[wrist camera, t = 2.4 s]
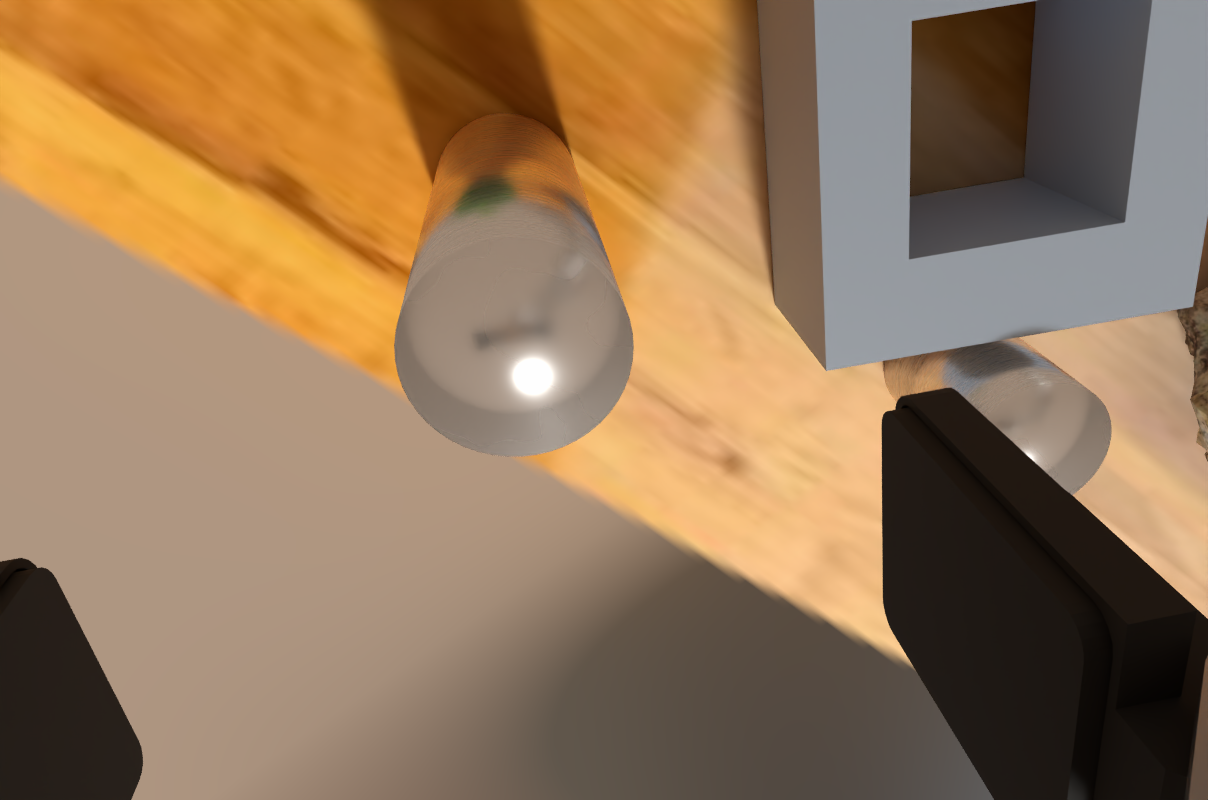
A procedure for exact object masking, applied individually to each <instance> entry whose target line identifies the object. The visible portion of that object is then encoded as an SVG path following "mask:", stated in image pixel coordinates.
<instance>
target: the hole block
mask: <svg viewBox="0 0 1208 800" xmlns="http://www.w3.org/2000/svg"><path fill="white" fill-rule="evenodd" d="M1031 1H1036V7H1035V22H1034V36H1033V50H1032V65H1031V79H1030V94H1029V108H1028V123H1027V137H1026V152H1025V166H1024V177H1023V178H1017V179H1011V180H1005V181H999V182H994V183H988V184H982V185H976V186H970V187H964V188H958V189H952V190H946V191H940V192H935V193H929V194H923V195H917V196H911V197H910V130H911V47H912V21H915V20H921V19H927V18H933V17H939V16H946V15H952V14H958V13H964V12H970V11H976V10H982V9H988V8H994V7H1001V6H1007V5H1013V4H1019V3H1025V2H1031ZM757 9H758V26H759V43H760V60H761V77H762V94H763V111H764V128H765V145H766V162H767V178H768V195H769V212H770V229H771V246H772V263H773V280H774V297H775V305H776V306H777V308H778V309H779V310H780V311H781V313H782V314H783V315H784V317H785V318H786V319H787V321H788V322H789V323H790V324H791V326H792V327H793V328H794V330H795V331H796V332H797V333H798V335H799V336H800V337H801V339H802V340H803V341H804V343H805V344H806V345H807V346H808V348H809V349H810V350H811V352H812V353H813V354H814V356H815V357H816V358H817V359H818V361H819V362H820V363H821V365H822V366H823V367H824V368H825V370H826V371H828V370H834V369H840V368H845V367H851V366H857V365H862V364H868V363H874V362H880V361H885V360H891V359H897V358H903V357H908V356H914V355H920V354H925V353H931V352H937V351H943V350H948V349H954V348H960V347H965V346H971V345H977V344H983V343H988V342H994V341H1000V340H1005V339H1011V338H1017V337H1023V336H1028V335H1034V334H1040V333H1046V332H1051V331H1057V330H1063V329H1068V328H1074V327H1080V326H1086V325H1091V324H1097V323H1103V322H1108V321H1114V320H1120V319H1126V318H1131V317H1137V316H1143V315H1149V314H1154V313H1160V312H1166V311H1171V310H1177V309H1183V308H1189V307H1193V303H1194V297H1195V291H1196V285H1197V279H1198V273H1199V267H1200V261H1201V255H1202V248H1203V242H1204V236H1205V230H1206V224H1207V218H1208V0H757Z"/></svg>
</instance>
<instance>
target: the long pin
mask: <svg viewBox="0 0 1208 800" xmlns="http://www.w3.org/2000/svg"><path fill="white" fill-rule="evenodd" d="M394 347H395V362H396V367H397V372H398V376H399V378H400V381H401V384H402V387H403V389H404V391H405V393H406V395H407V397H408V399H409V401H410V402H411V404H412V405H413V406H414V408H415V409H416V411H417V412H418V413H419V414H420V415H421V417H423V419H424V420H425V421H426V422H427V423H428V424H430V426H432V427H433V428H434V429H435V430H437V431H438V432H439V433H440V434H442V435H444V436H445V437H446V438H448V439H450V440H452V441H453V442H455V443H457V444H460V445H461V446H464V447H466V448H469V449H472V450H475V451H477V452H482V453H486V454H490V455H498V456H507V457H510V456H530V455H537V454H541V453H546V452H550V451H553V450H556V449H558V448H561V447H564V446H566V445H568V444H570V443H572V442H574V441H576V440H578V439H579V438H581V437H582V436H584V435H586V434H587V433H589V432H590V431H591V430H592V429H593V428H595V427H596V426H597V425H598V424H599V423H600V422H601V421H602V420H603V419H604V418H605V417H606V416H607V415H608V414H609V413H610V411H611V410H612V409H613V407H614V406H615V404H616V403H617V402H618V400H619V398H620V396H621V394H622V392H623V390H624V389H625V386H626V383H627V380H628V378H629V375H630V370H631V366H632V361H633V333H632V328H631V323H630V319H629V316H628V313H627V310H626V308H625V305H624V302H623V299H622V296H621V294H620V291H619V288H618V285H617V283H616V280H615V277H614V274H613V271H612V269H611V266H610V263H609V260H608V257H607V255H606V252H605V249H604V246H603V243H602V241H601V238H600V235H599V232H598V229H597V227H596V224H595V221H594V218H593V215H592V213H591V210H590V207H589V204H588V201H587V199H586V196H585V193H584V190H583V187H582V185H581V182H580V179H579V176H578V174H577V171H576V168H575V165H574V162H573V160H572V157H571V155H570V153H569V151H568V149H567V147H566V146H565V144H564V143H563V142H562V140H561V139H560V138H559V137H558V136H557V135H556V134H555V133H554V132H553V131H552V130H551V129H550V128H548V127H547V126H545V125H544V124H542V123H541V122H539V121H537V120H535V119H532V118H530V117H527V116H524V115H519V114H513V113H498V114H491V115H487V116H483V117H481V118H478V119H476V120H474V121H472V122H470V123H468V124H467V125H465V126H464V127H463V128H461V129H460V130H459V131H458V132H457V133H456V134H455V135H454V136H453V137H452V138H451V140H450V141H449V142H448V144H447V145H446V147H445V149H444V151H443V153H442V155H441V158H440V160H439V164H438V168H437V171H436V175H435V179H434V183H433V187H432V191H431V195H430V199H429V203H428V206H427V210H426V214H425V218H424V222H423V226H422V230H421V234H420V238H419V242H418V245H417V249H416V253H415V257H414V261H413V265H412V269H411V273H410V277H409V280H408V284H407V288H406V292H405V296H404V300H403V304H402V308H401V312H400V315H399V320H398V324H397V328H396V334H395V344H394Z"/></svg>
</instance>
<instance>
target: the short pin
mask: <svg viewBox="0 0 1208 800" xmlns="http://www.w3.org/2000/svg"><path fill="white" fill-rule="evenodd" d="M884 377H885V382H886V385H887V388H888V390H889V392H890V394H891V395H892V397H893V398H894V399H895V400H896V401H898V399H899V398H900V397H901V396H905V395H910V394H916V393H921V392H926V391H932V390H937V389H943V388H953V389H955V390H956V391H958V392H959V393H960V394H961V395H962V396H963V397H964V398H965V399H966V400H967V401H969V402H970V403H971V404H972V405H973V406H974V407H975V408H976V409H977V410H978V411H980V412H981V413H982V414H983V415H984V416H985V417H986V418H987V419H988V420H989V421H990V422H992V423H993V424H994V425H995V426H996V427H997V428H998V429H999V430H1000V431H1001V432H1002V433H1004V434H1005V435H1006V436H1007V437H1008V438H1009V439H1010V440H1011V441H1012V442H1013V443H1014V444H1016V445H1017V446H1018V447H1019V448H1020V449H1021V450H1022V451H1023V452H1024V453H1025V454H1026V455H1028V456H1029V457H1030V458H1031V459H1032V460H1033V461H1034V462H1035V463H1036V464H1037V465H1039V466H1040V467H1041V468H1042V469H1043V470H1044V471H1045V472H1046V473H1047V474H1048V475H1049V476H1051V477H1052V478H1053V479H1054V480H1055V481H1056V482H1057V483H1058V484H1059V485H1060V486H1061V487H1063V488H1064V489H1065V490H1066V491H1067V492H1069V493H1070V494H1071V495H1073V494H1074V493H1075V492H1077V491H1078V490H1079V489H1080V488H1082V487H1083V486H1084V485H1085V484H1086V483H1087V482H1088V481H1089V480H1090V479H1091V478H1092V477H1093V475H1094V474H1095V473H1096V471H1097V470H1098V469H1099V467H1100V465H1101V464H1102V462H1103V460H1104V458H1105V456H1106V454H1107V451H1108V448H1109V445H1110V440H1111V420H1110V417H1109V413H1108V411H1107V409H1106V407H1105V405H1104V404H1103V402H1102V401H1101V400H1100V399H1099V398H1098V397H1097V396H1096V395H1095V394H1094V393H1092V392H1091V391H1090V390H1088V389H1087V388H1086V387H1084V386H1083V385H1082V384H1080V383H1079V382H1078V381H1076V380H1075V379H1074V378H1072V377H1071V376H1070V375H1068V374H1067V373H1066V372H1064V371H1063V370H1062V369H1060V368H1059V367H1058V366H1056V365H1055V364H1054V363H1052V362H1051V361H1050V360H1049V359H1047V358H1046V357H1045V356H1043V355H1042V354H1041V353H1039V352H1038V351H1037V350H1035V349H1034V348H1033V347H1031V346H1030V345H1029V344H1027V343H1026V342H1025V341H1023V340H1022V339H1021V338H1019V337H1017V338H1011V339H1005V340H1000V341H994V342H988V343H983V344H977V345H971V346H965V347H960V348H954V349H948V350H943V351H937V352H931V353H925V354H920V355H914V356H908V357H903V358H897V359H891V360H885V364H884Z"/></svg>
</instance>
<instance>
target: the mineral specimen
mask: <svg viewBox="0 0 1208 800" xmlns="http://www.w3.org/2000/svg"><path fill="white" fill-rule="evenodd" d="M1178 317H1179V319H1180V321H1181V323H1182V325H1183V327H1184V329H1185V331H1186V333H1187V334H1186V341H1185V343H1186V344H1187V345H1188V348H1189V352H1190V354H1191V355H1193V356H1194V386H1193V391H1192V396H1191V399H1190V400H1191V403H1192V405H1193V408H1194V411H1195V414H1196V416H1197V420H1198V424H1199V427H1200V428H1199V431H1198V434H1197V441H1196V442H1197V443H1198V444H1199V445H1201V446H1202V447H1204V448H1205V449H1206V451H1207V452H1206V453H1205V456H1206V459H1207V461H1208V287H1206V288H1205V289H1203V290H1201V291H1200V292H1197V293H1195V297H1194V303H1193V307H1189V308H1183V309H1178Z"/></svg>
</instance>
